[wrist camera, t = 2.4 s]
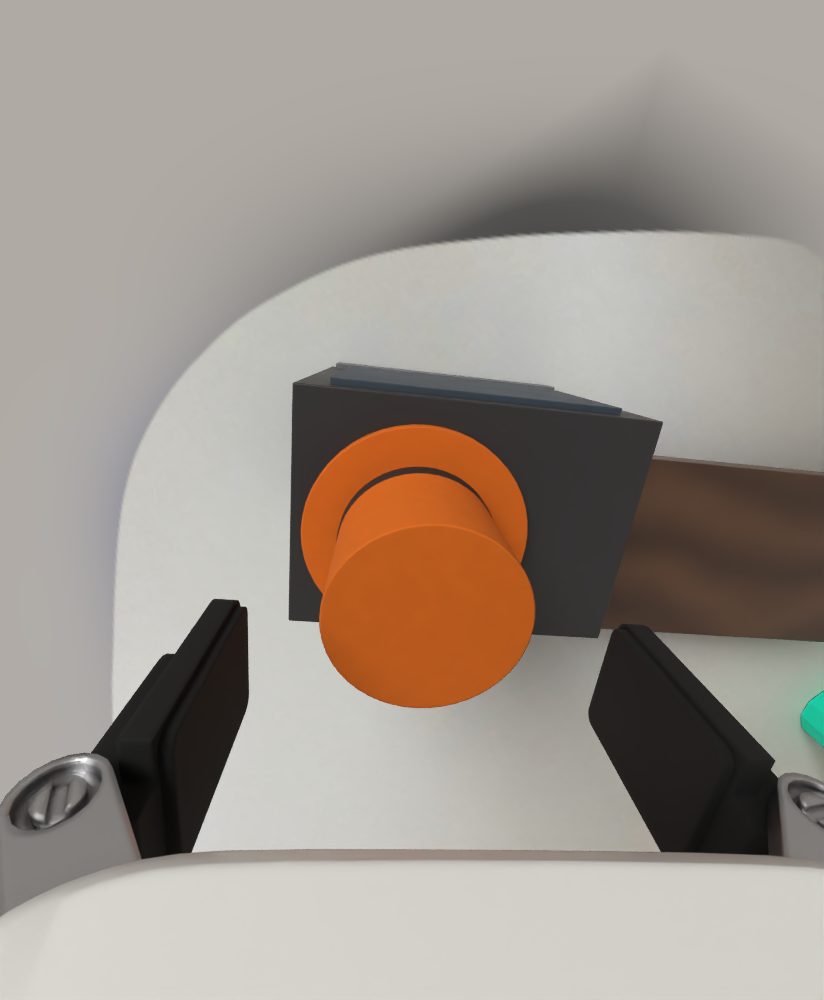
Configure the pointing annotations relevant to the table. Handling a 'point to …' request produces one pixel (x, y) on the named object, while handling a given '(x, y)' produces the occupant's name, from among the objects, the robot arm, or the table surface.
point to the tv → (521, 448)
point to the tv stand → (724, 552)
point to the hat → (419, 565)
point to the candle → (814, 718)
